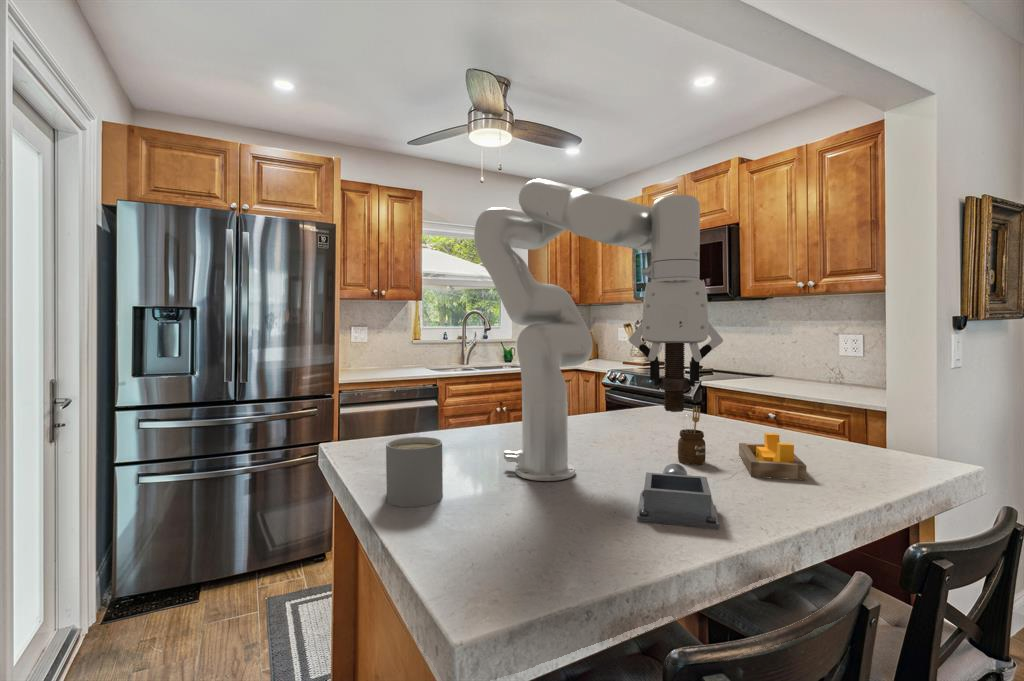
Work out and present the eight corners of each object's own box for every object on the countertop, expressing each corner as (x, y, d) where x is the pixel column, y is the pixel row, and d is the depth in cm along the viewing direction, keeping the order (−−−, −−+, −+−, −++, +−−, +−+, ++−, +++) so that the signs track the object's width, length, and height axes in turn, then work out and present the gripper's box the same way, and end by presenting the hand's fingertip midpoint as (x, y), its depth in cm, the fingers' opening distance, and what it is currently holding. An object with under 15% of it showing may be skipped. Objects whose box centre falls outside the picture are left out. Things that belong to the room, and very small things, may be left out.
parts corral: (751, 476, 103) (751, 462, 103) (738, 455, 120) (738, 442, 120) (806, 480, 100) (806, 465, 100) (785, 458, 117) (785, 445, 117)
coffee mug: (449, 502, 89) (449, 445, 89) (393, 510, 85) (392, 451, 85) (429, 481, 101) (428, 431, 101) (378, 488, 97) (377, 436, 97)
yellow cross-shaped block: (756, 460, 116) (756, 432, 116) (776, 461, 115) (776, 433, 115) (770, 475, 105) (771, 444, 104) (793, 476, 104) (793, 445, 104)
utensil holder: (673, 462, 114) (673, 409, 114) (684, 457, 119) (684, 406, 119) (699, 467, 110) (700, 412, 110) (709, 461, 115) (709, 408, 115)
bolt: (652, 408, 86) (653, 319, 85) (681, 407, 86) (682, 319, 86) (665, 414, 80) (666, 319, 79) (696, 413, 80) (697, 319, 80)
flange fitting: (637, 521, 79) (637, 490, 79) (642, 486, 97) (642, 461, 97) (719, 529, 76) (719, 497, 76) (708, 491, 94) (709, 465, 94)
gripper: (619, 273, 81) (619, 386, 82) (734, 269, 76) (733, 389, 77) (623, 277, 89) (623, 381, 89) (729, 274, 83) (728, 384, 84)
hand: (674, 383), depth 83 cm, fingers closed on bolt, 4 cm apart
